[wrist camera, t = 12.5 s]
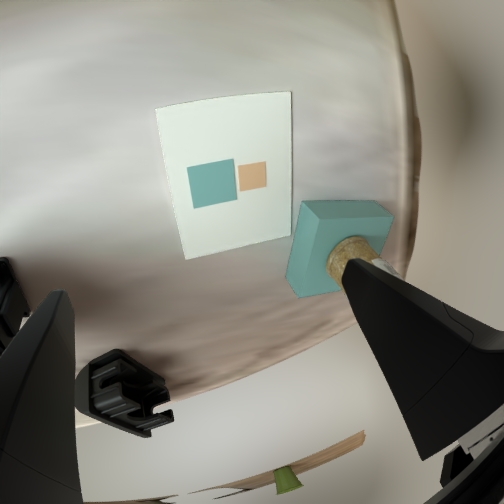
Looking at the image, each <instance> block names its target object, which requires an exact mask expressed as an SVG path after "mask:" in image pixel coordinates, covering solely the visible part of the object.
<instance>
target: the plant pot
mask: <svg viewBox="0 0 504 504" xmlns="http://www.w3.org/2000/svg"><path fill="white" fill-rule="evenodd" d="M274 477H275V482H276V487H277V495H278V494H282V493H286V492H289V491H292V490H295V489H297V488H300V487H302V486H303V485H302V484H301V482H300V481H299V480H298V478H297V477H296V475H295V474H294V472H293V471H292V469H291V468H290V466H288V467H283V468H279V469H278V470H275V471H274Z"/></svg>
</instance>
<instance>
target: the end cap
mask: <svg viewBox="0 0 504 504" xmlns="http://www.w3.org/2000/svg"><path fill="white" fill-rule="evenodd" d="M164 385H165V379H164V378H162V377H160V376H159V375H157V374H156V373H154V372H153V371H151V370H149V369H148V368H146V367H145V366H143V365H142V364H140V363H139V362H137V361H136V360H134V359H133V358H131V357H130V356H128V355H127V354H126V353H124V352H123V351H121V350H119V349H113V350H111V351H109V352H107V353H105V354H103V355H101V356H99V357H97V358H95V359H93V360H92V361H91V362H90V363H88V365H86V366H85V367H84V368H83V369H82V370H81V371H80V372H79V374H78V375H77V377H76V379H75V407H76V409H77V410H78V411H79V412H81V413H83V414H85V415H87V416H89V417H91V418H94V419H96V420H98V421H101V422H103V423H105V424H108V425H110V426H113V427H115V428H118V429H120V430H123V431H126V432H128V433H131V434H134V435H137V436H140V437H143V438H148V437H151V429H153V428H156V427H160V426H163V425H165V424H168V423H171V422H174V416H173V411H172V410H171V409H169V410H167V411H164V412H161V413H156V414H153V409H154V407H156V406H158V405H161V404H163V403H166V402H168V401H170V395H169V391H168V389H167V388H166V387H165V386H164Z"/></svg>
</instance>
